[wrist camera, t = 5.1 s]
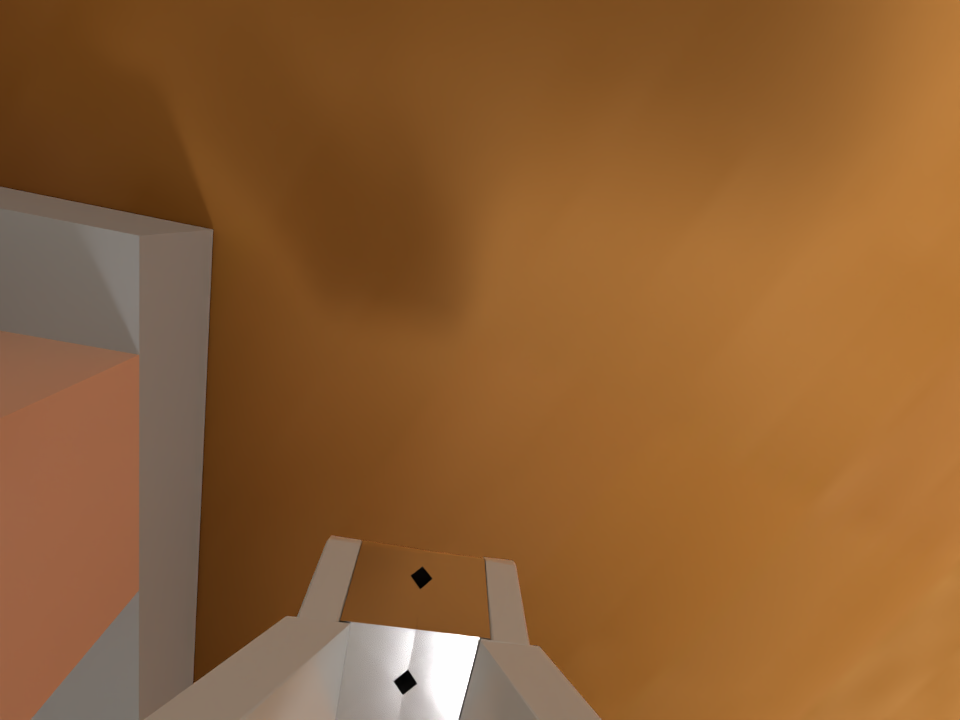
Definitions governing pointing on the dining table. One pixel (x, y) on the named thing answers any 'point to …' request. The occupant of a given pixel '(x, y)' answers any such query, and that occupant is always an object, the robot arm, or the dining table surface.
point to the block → (63, 508)
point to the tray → (162, 416)
